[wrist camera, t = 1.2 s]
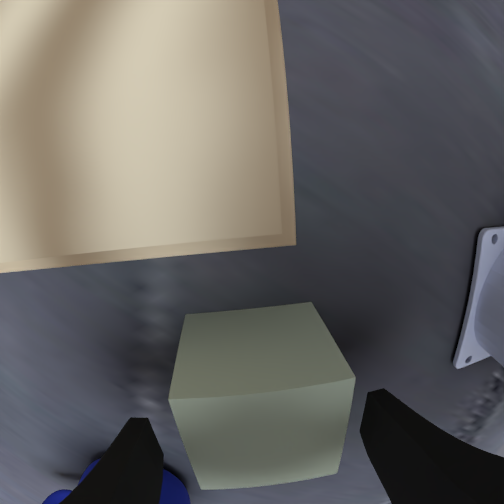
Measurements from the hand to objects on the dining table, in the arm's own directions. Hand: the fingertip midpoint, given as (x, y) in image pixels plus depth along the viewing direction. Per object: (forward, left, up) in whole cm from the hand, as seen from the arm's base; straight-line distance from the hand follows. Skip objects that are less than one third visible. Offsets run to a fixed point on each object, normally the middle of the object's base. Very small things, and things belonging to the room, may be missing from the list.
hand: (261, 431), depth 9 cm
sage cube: (0, 0, -4) cm, 4 cm away
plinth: (+5, -12, -4) cm, 14 cm away
